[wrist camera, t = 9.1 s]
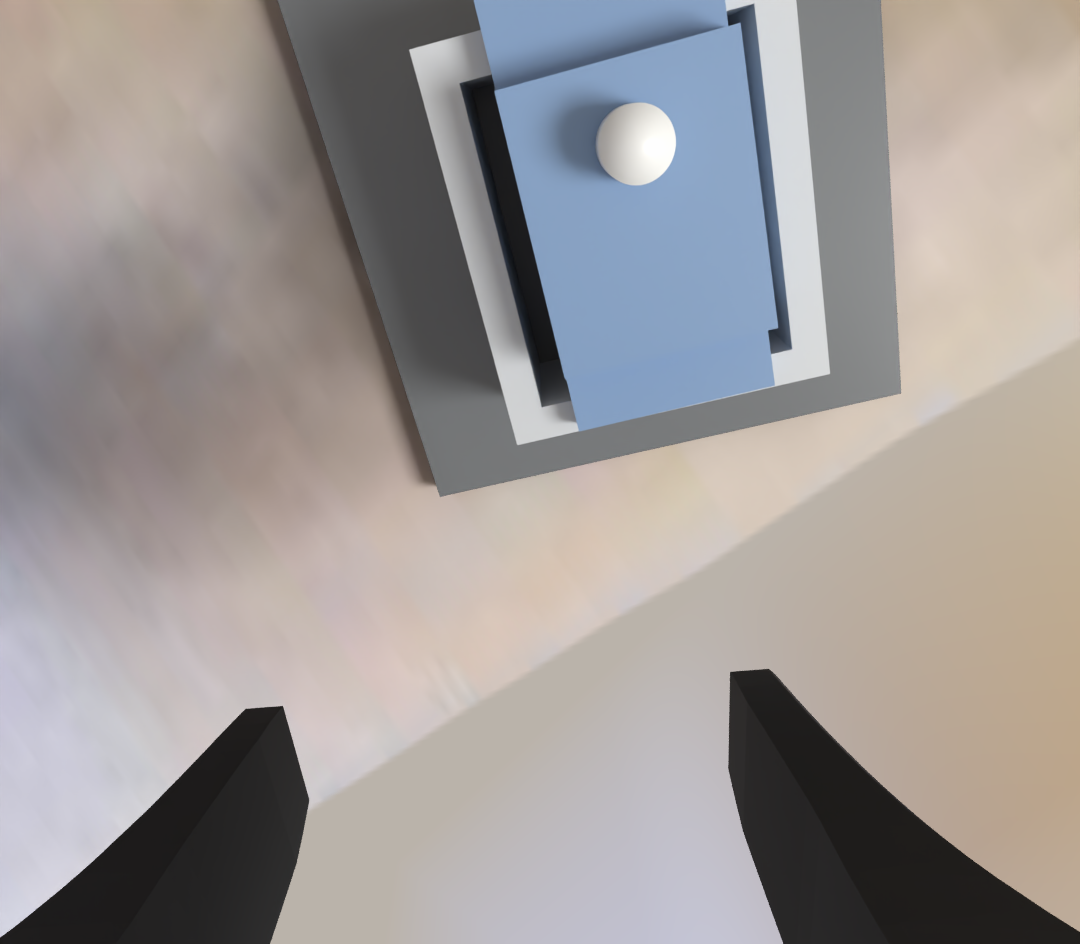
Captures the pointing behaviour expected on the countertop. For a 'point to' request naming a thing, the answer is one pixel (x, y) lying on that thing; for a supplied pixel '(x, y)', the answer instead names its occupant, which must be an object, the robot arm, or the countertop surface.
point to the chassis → (506, 250)
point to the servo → (638, 196)
